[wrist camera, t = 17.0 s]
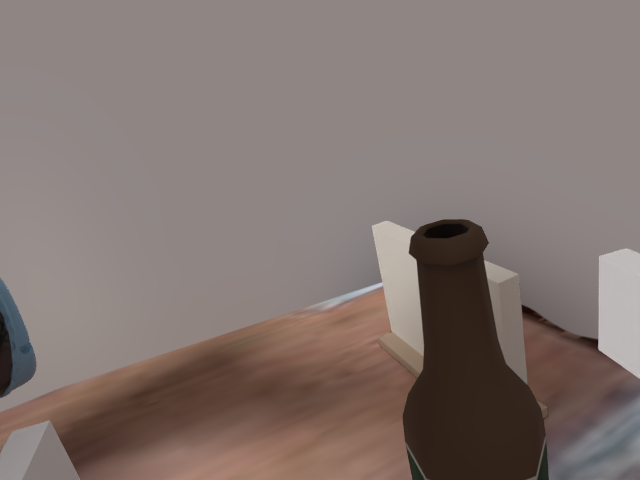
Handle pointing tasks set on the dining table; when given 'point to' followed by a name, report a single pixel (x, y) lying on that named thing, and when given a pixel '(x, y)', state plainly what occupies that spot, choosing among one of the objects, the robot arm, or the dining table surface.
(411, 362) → the screen
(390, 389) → the dining table surface
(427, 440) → the beer bottle
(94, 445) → the dining table surface
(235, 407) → the dining table surface
